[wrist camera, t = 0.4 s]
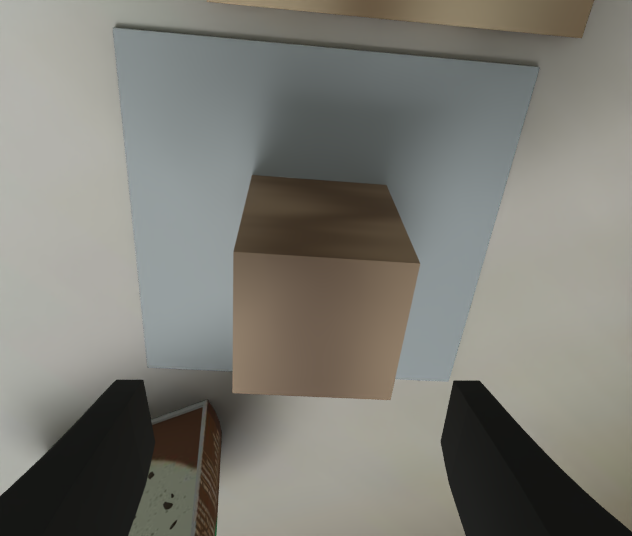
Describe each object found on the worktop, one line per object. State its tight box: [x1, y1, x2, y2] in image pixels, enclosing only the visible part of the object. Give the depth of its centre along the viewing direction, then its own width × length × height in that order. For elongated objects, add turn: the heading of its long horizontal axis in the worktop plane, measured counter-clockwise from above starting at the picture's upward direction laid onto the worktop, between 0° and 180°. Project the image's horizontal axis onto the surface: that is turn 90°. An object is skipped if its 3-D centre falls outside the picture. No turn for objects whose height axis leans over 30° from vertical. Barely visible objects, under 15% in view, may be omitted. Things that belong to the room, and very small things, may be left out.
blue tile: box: [113, 27, 540, 382], centre depth 20 cm, size 14×14×1 cm
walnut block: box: [232, 175, 420, 400], centre depth 17 cm, size 5×5×6 cm
